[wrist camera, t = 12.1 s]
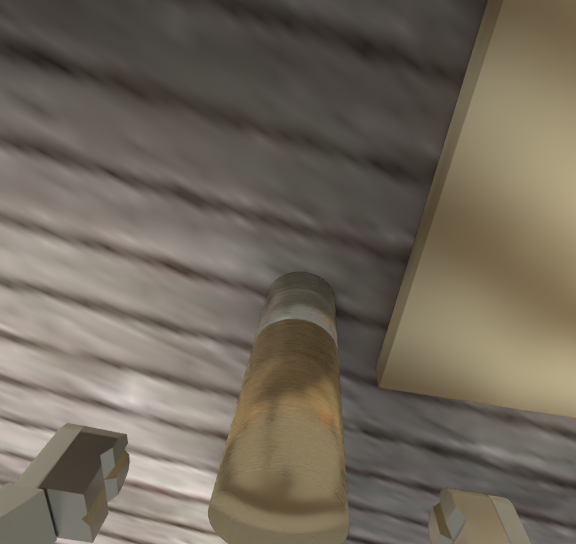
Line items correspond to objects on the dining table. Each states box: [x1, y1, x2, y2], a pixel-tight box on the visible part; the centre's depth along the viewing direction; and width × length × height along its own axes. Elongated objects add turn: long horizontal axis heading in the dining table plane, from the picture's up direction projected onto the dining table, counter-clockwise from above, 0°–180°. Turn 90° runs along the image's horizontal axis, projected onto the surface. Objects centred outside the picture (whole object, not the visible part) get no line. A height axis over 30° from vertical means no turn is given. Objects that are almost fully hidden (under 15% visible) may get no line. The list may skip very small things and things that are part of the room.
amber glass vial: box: [208, 272, 349, 544], centre depth 12 cm, size 3×3×9 cm
